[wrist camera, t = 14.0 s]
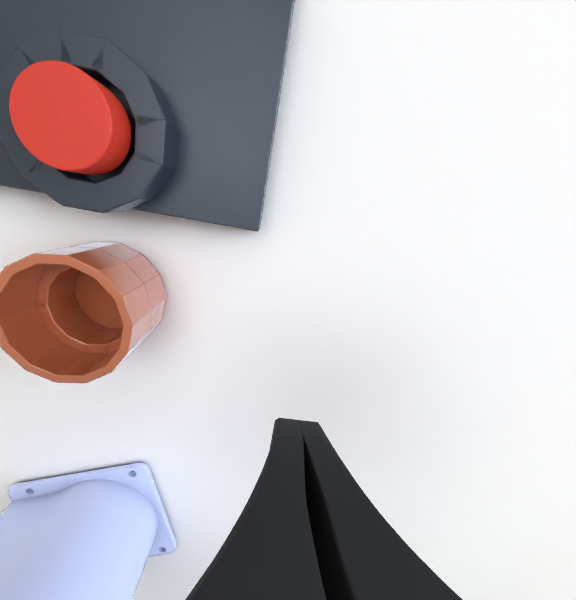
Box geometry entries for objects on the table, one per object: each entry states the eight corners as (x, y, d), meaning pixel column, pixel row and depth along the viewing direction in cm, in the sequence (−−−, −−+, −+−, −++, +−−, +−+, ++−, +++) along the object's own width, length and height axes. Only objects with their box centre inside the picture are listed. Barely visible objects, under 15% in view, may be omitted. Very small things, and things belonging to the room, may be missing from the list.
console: (259, 233, 18) (255, 240, 14) (-30, 181, 16) (-109, 175, 13) (296, -12, 15) (302, -78, 11) (-55, -100, 13) (-167, -203, 10)
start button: (130, 182, 14) (110, 179, 12) (43, 166, 14) (10, 160, 12) (134, 89, 13) (113, 71, 11) (40, 69, 13) (4, 48, 11)
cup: (86, 347, 19) (22, 394, 14) (48, 250, 17) (-39, 266, 13) (180, 330, 19) (148, 372, 14) (151, 231, 17) (104, 240, 13)
